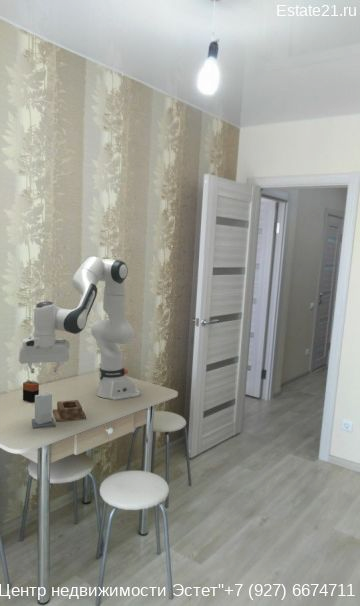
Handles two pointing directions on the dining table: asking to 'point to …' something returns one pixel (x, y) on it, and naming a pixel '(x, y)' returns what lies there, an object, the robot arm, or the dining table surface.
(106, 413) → the dining table surface
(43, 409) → the skincare box
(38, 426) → the rubber mat
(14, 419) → the dining table surface
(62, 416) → the socket block
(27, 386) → the battery
